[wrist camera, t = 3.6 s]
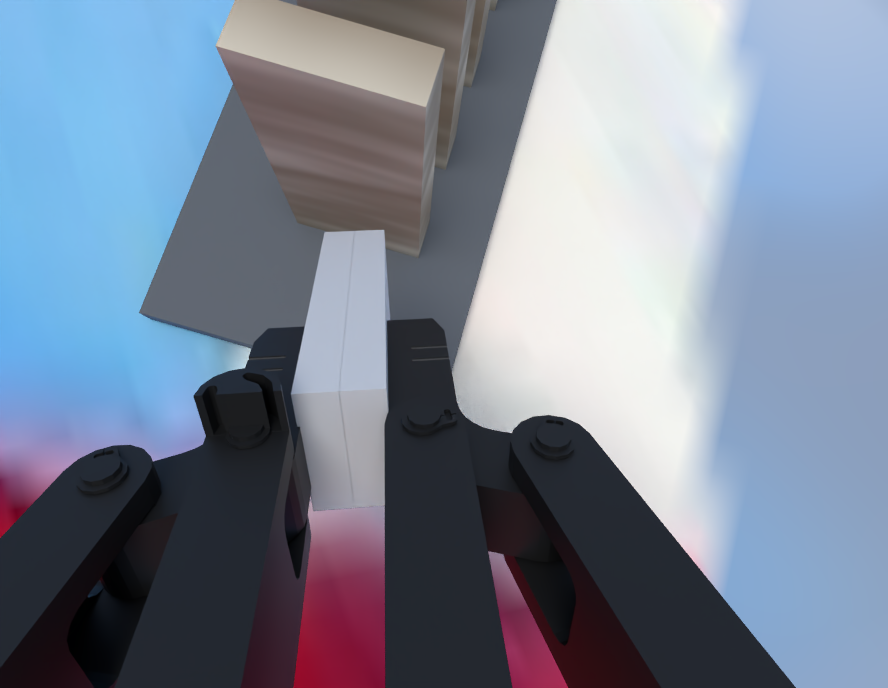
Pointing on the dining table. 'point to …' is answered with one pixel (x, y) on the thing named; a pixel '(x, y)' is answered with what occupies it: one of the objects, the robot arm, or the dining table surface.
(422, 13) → the domino
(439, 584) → the robot arm
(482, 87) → the mat
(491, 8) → the domino
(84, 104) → the dining table surface
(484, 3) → the domino
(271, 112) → the domino
